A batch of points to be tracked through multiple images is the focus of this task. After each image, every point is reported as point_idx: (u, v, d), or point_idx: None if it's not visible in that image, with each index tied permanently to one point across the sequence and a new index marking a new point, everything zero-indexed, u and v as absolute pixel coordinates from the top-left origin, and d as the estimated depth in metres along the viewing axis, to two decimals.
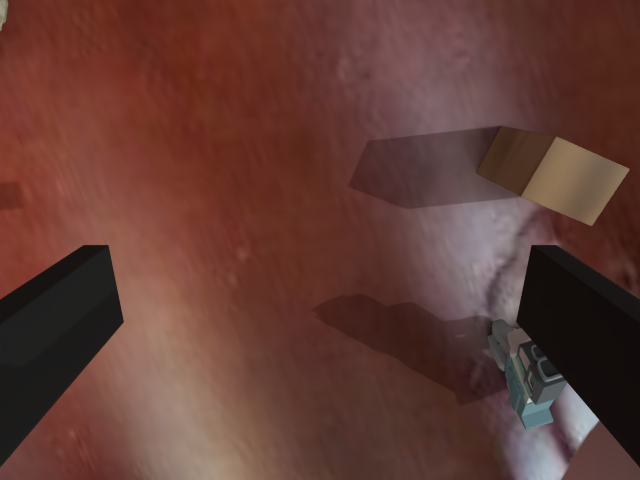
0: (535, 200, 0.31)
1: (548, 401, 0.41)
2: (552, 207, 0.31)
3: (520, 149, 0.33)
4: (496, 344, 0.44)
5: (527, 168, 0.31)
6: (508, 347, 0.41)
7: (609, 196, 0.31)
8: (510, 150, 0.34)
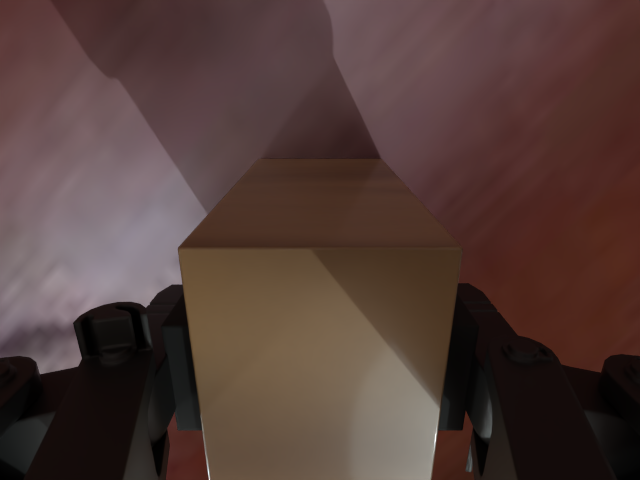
0: (193, 311, 0.07)
1: None
2: (202, 380, 0.08)
3: (352, 193, 0.10)
4: None
5: (301, 226, 0.08)
6: None
7: None
8: (338, 181, 0.12)
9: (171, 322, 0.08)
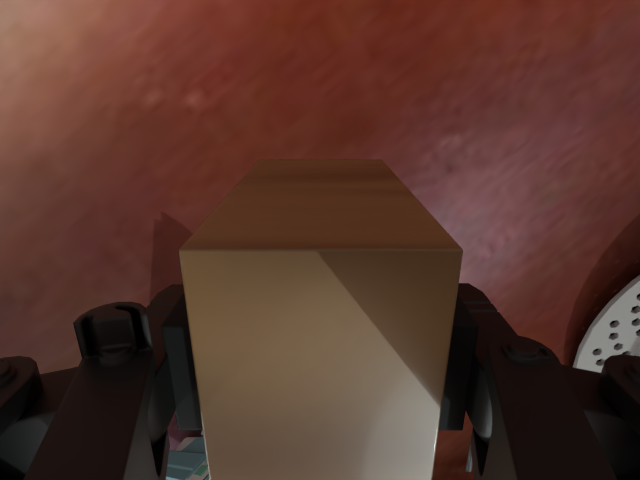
0: (194, 312, 0.07)
1: None
2: (203, 381, 0.08)
3: (353, 194, 0.10)
4: None
5: (302, 227, 0.08)
6: None
7: None
8: (338, 183, 0.12)
9: (171, 322, 0.08)
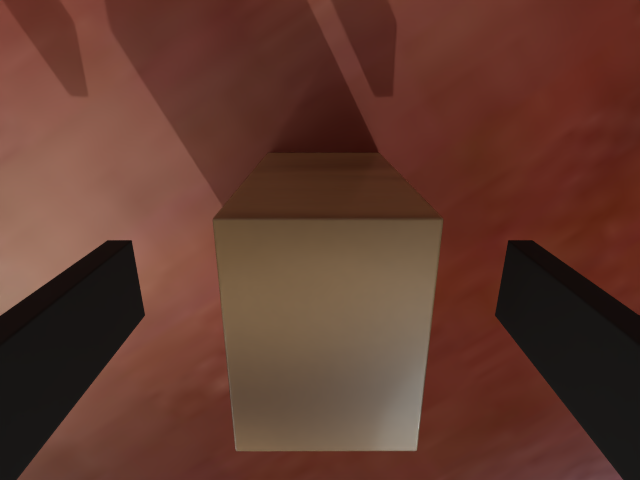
0: (224, 271, 0.09)
1: None
2: (229, 331, 0.09)
3: (353, 180, 0.12)
4: None
5: (311, 203, 0.09)
6: None
7: (329, 447, 0.11)
8: (341, 171, 0.13)
9: None
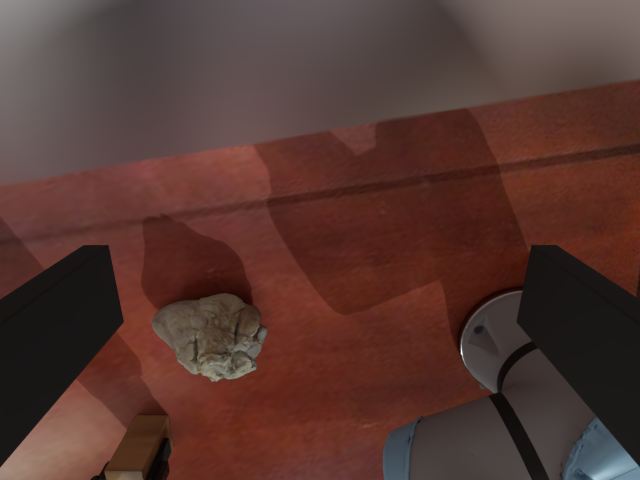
0: (106, 478, 0.51)
1: None
2: None
3: (141, 446, 0.55)
4: None
5: (124, 463, 0.52)
6: None
7: None
8: (143, 438, 0.56)
9: None
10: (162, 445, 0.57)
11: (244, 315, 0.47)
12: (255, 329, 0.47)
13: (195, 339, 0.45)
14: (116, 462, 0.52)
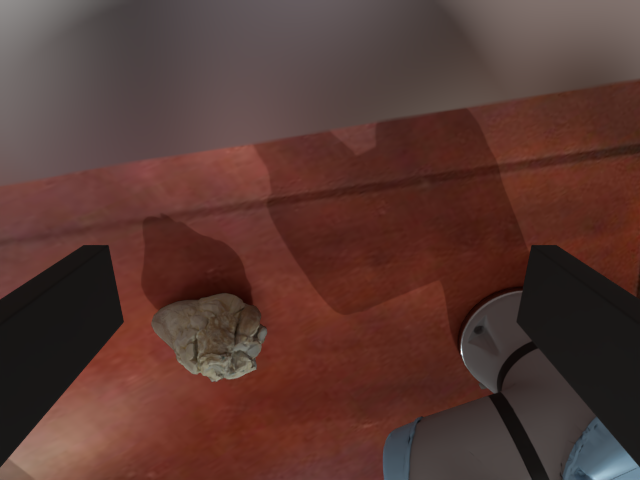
0: None
1: None
2: None
3: None
4: None
5: None
6: None
7: None
8: None
9: None
10: None
11: (244, 315, 0.47)
12: (255, 329, 0.47)
13: (195, 339, 0.45)
14: None
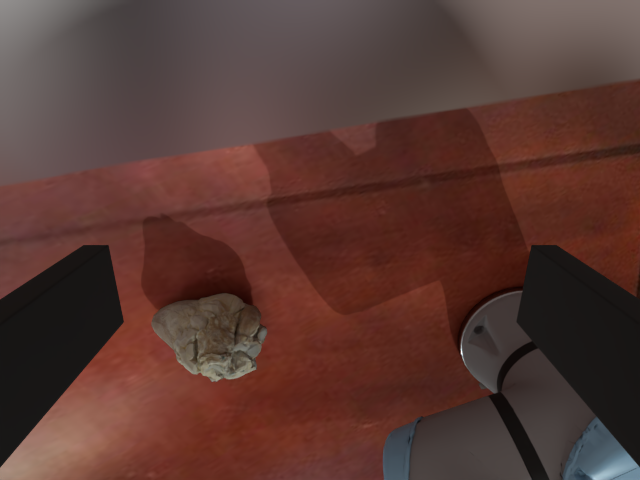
0: None
1: None
2: None
3: None
4: None
5: None
6: None
7: None
8: None
9: None
10: None
11: (244, 315, 0.47)
12: (255, 329, 0.47)
13: (195, 339, 0.45)
14: None
